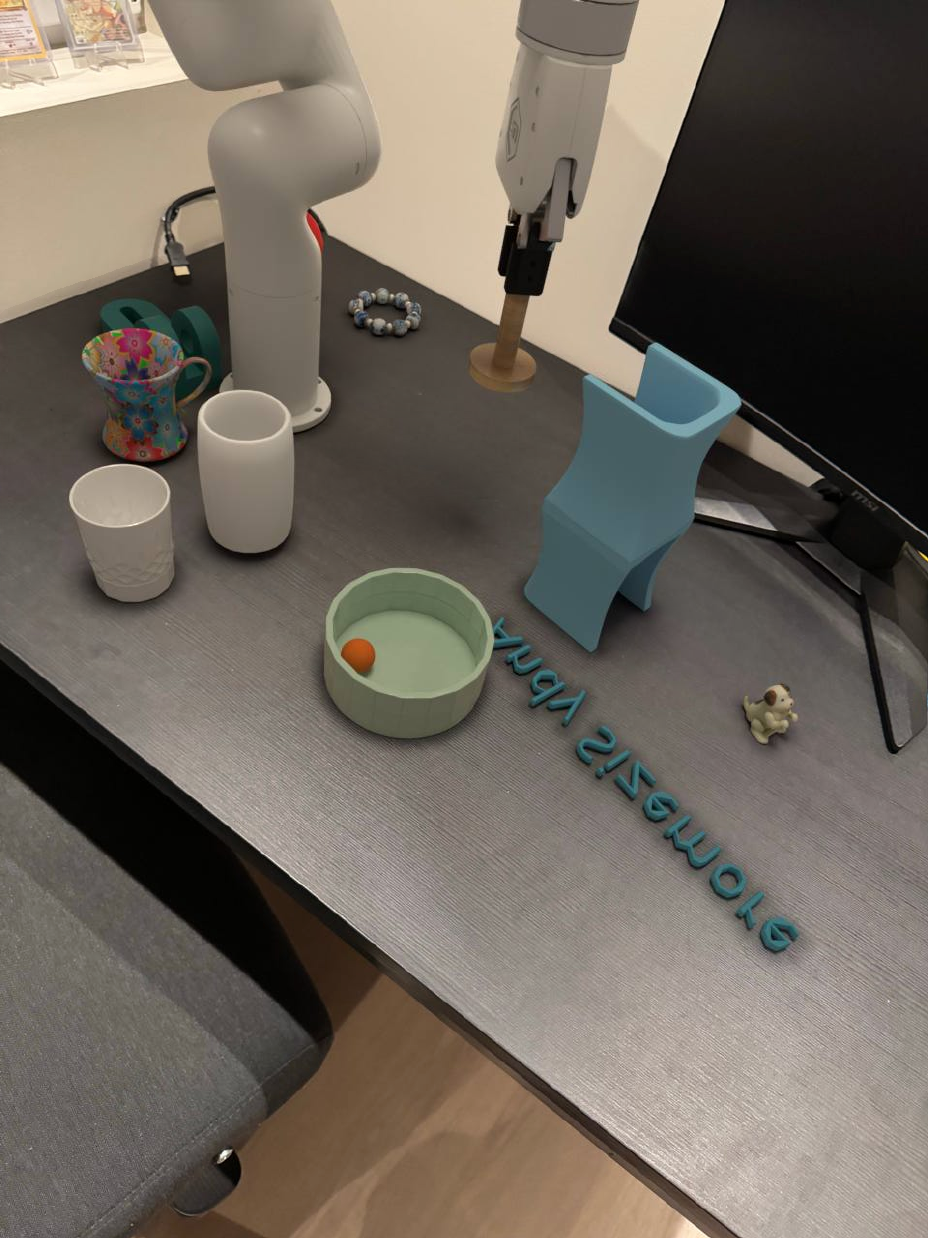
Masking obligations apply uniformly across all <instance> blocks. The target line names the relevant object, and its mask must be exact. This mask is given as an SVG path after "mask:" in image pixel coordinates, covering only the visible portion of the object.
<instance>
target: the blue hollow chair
mask: <svg viewBox="0 0 928 1238" xmlns="http://www.w3.org/2000/svg"><path fill="white" fill-rule="evenodd" d="M582 396H583V419H582V428H581V429H582V431H581V435H580V440H579V445H578V448H577V450H576V453H575V455H574V457H573V459H572V461H571V463H570V464H569V466H568V468H567V469H566V471H565V473H564V474H563V475H562V477H561V478H560V479H559V481H558V482H557V483H556V484H555V485H554V487H553V488H552V489H551V490H550V491H549V492H548V494H547V495H546V496H545V497H544V499H543V502H542V506H541V520H542V538H541V539H542V541H541V542H542V544H541V550H540V555H539V559H538V562H537V564H536V567H535V569H534V571H533V572H532V574H531V575H530V578H529V579H528V581H527V583H526V584H525V586H524V587H523V593H524V597H525V598H526V599H527V600H528V602H529V603H530V604H531V605H533V607H535V608H536V609H537V610H538V611H539V612H540V613H542V614H543V615H544V616H546V618H548V619H549V620H550V621H551V622H553V623H554V624H555V625H556V626H557V627H558V628H560V629H561V630H562V631H563V632H565V633H566V634H567V635H568V636H569V637H571V638H572V639H573V640H574V641H575V642H576V643H578V644H579V645H580V646H582V648H584V649H585V650H586V651H587V652H588V653H592V652H593V651H595V650H597V648H598V645H599V641H600V637H601V634H602V631H603V630H602V629H603V627H604V623H605V620H606V617H607V613H608V611H609V609H610V606H611V604H612V601H613V599H614V597H615V596H616V594H617V592H619V593H620V594H621V595H622V596H623V597H625V598H626V599H627V600H628V601H630V602H631V603H633V604H634V605H635V606H636V607H638V609H640V610H641V611H643V612H645V611H647V610H648V609H649V608H651V605H652V595H653V590H654V589H653V587H654V584H655V580H656V576H657V575H658V571H659V568H660V567H661V565H662V563H663V562H664V561H665V558H666V557H667V556H668V554H669V553H670V551H671V550H672V549H673V548H674V546H675V545H676V543H678V542H679V540H680V539H681V538H682V537H683V535H685V533H686V532H687V531H688V530H689V529H690V527H691V526H692V523H693V522H694V520H695V501H696V499H695V498H696V489H697V488H696V487H697V481H698V477H699V473H700V470H701V466H702V463H703V461H704V460H705V458H706V455H707V454H708V452H709V451H710V448H711V447H712V446H713V444H714V443H715V441H716V440H717V438H718V437H719V436H720V435H721V433H722V431H723V430H724V429H725V428H726V426H727V425H728V424H729V423H730V421H731V420H732V419H733V417H735V415H736V414H737V412H738V411H739V410H740V409H741V406H742V400H741V398H740V396H739V394H738V393H737V392H736V391H734V390H733V389H731V388H730V387H729V386H727V385H725V384H724V383H723V382H722V381H719V380H718V379H716V378H715V377H713V376H712V375H711V374H708V373H706V372H705V371H703V370H701V369H700V368H699V367H697V366H695V365H694V364H692V363H690V362H689V361H688V360H685V359H684V358H682V357H681V356H679V355H678V354H677V353H674V352H673V351H671V350H669V349H668V348H666V347H665V346H663V345H662V344H661V343H658V342H654V343H652V344H650V345H648V346H647V350H646V353H645V357H644V361H643V365H642V370H641V375H640V379H639V383H638V387H637V391H636V394H635V398H634V401H632V400H631V399H629V398H628V397H626V396H625V395H624V394H622V393H620V392H619V391H617V390H616V389H614V388H612V386H610V385H608V384H607V383H605V382H604V381H602V380H601V379H599V378H598V377H596V376H595V375H594V374H592V373H589V374H587V375H585V376H583V377H582Z"/></svg>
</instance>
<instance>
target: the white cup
mask: <svg viewBox="0 0 928 1238" xmlns="http://www.w3.org/2000/svg"><path fill="white" fill-rule="evenodd" d="M171 498H172V497H171V488H170V486H169V484H168V482H167V481H166V479H165V478H164V477H163V476H162V475H161V474H159V473H158V472H156V471H155V470H154V469H151V468H148V467H146V466H142V465H138V464H130V463H116V464H109V465H105V466H100V467H97V468H95V469H92V470H90V471H87V472H86V473H85V474H83V475H82V476H80V477H79V478H78V479H77V480H76V481H75V482H74V484H73V485H72V486H71V488H70V490H69V495H68V501H69V505H70V509H71V511H72V515H73V518H74V520H75V524H76V527H77V530H78V533H79V536H80V540H81V542H82V547H83V548H84V550H85V553H86V557H87V559H88V562H89V564H90V566H91V568H92V570H93V574H94V577H95V581H96V584H97V586H98V587H99V589H101V591H102V592H103V593H104V594H105V595H106V596H107V597H109V598H112V599H115V600H117V601H120V602H123V603H141V602H145V601H148V600H150V599H154V598H157V597H158V596H160V595H161V594H162V593H164V592H165V591H166V590H167V589H169V588H170V587H171V584H172V582H173V580H174V578H175V563H174V551H175V545H174V544H175V542H174V525H173V524H174V523H173V512H172V499H171Z"/></svg>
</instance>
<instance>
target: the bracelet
mask: <svg viewBox="0 0 928 1238" xmlns="http://www.w3.org/2000/svg"><path fill="white" fill-rule="evenodd" d="M409 298H410V297H409V296H408V295H407V293H404V292H399V293H397V294H395V295H394V294H393V293H391V294H390V292H389V291H388V290H387V289H386V288H383V287H380V288H378V289H376V290H375V292H373V293H372V292H371V293H370V292H369V291H366V290H360V291H359V292H358V293H357V295H356V299H352V300H350V302H349V303H348V305H347V307H348V312H349V313H350V314H351V315H353V321H354V323H355V325H356V326H358V327H360V328H361V327H366V326H368V327H370V329H371V331H372V332H373V334H375V335H378V336H379V335H383V334H385V332H387V331H388V332H391V331H392V332H393V334H395V335H396V336H403V335H405V334H406V333H407V331H408V329H412V330H415V329H417V328H419V327H420V325H421V322H422V320H421V313H422V308H421V305H420V304H419V303H418V302H410V299H409ZM372 301H375V302H376V303H378V304H380V305H383V304H384V305H385V304H387V303H388V302H391V303H393V304H394V305H395V307H397V308H398V309H406V311H405V312H406V314H407V316H406V318H405V320H403V319H399V318H398V319H395V320H394V321H393V322H392V323H390V322H389V323H387V322H386V321H385V320H384V319H383V318H375V319H372V318H370V315H369V314H368V312H367V311H365V310H364V307H368V306H370V305H371V303H372Z"/></svg>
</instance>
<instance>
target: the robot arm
mask: <svg viewBox="0 0 928 1238" xmlns="http://www.w3.org/2000/svg"><path fill="white" fill-rule="evenodd" d="M146 2H147V3H148V6H149V8H150V9H151V12H152V14H153V16H154V18H155V20H156V22H157V24H158V26H159V28H160V30H161V33H162V35H163V37H164V39H165V41H166V44H167V45H168V47H169V49H170V51H171V53H172V55H173V57H174V59H175V61H176V62H177V64H178V66H179V67H180V69H181V70H182V72H183V74H184V75H185V76H186V77H187V79H188V80H189V81H190V82H191V83H192V84H193V85H195V86H196V87H198V88H200V89H202V90H204V91H209V92H227V91H233V90H239V89H244V88H250V87H255V86H258V85H263V84H269V83H274V82H277V81H278V83H279V85H280V87H281V89H282V90H283V91H279V92H275V93H270V94H267V95H266V94H265V95H263V96H258V97H253V98H250V99H247V100H243V101H240V102H238V103H237V104H234V105H233V106H231V107H229V108H227V109H226V110H225V111H224V112H222V113H221V115H220V116H218V118H217V119H216V120H215V122H214V123H213V125H212V127H211V129H210V132H209V135H208V139H207V158H208V165H209V170H210V174H211V178H212V183H213V185H214V189H215V190H214V191H215V193H216V198H217V203H218V207H219V213H220V219H221V226H222V235H223V243H224V244H223V245H224V257H225V258H224V259H225V272H226V285H227V286H226V287H227V303H228V306H227V307H228V321H229V322H228V323H229V337H230V338H229V339H230V357H231V359H230V360H231V372H230V373H229V374H228V375H227V376H225V378H223V382H222V383H221V385H220V386H219V389H218V394H220V393H223V392H227V391H234V390H252V391H258V392H263V393H265V394H268V395H270V396H272V397H274V398H276V399H277V400H279V401H280V402H281V403H282V404H283V405H284V406H285V407H286V408H287V409H288V411H289V413H290V414H291V421H292V430H293V434H294V433H299V432H303V431H306V430H309V429H311V428H313V427H315V426H317V425H319V424H320V423H321V422H323V420H324V419H326V417H327V416H328V414H329V412H330V410H331V406H332V405H331V404H332V394H331V390H330V387H329V386H328V385H327V383H326V382H325V380H323V378H321V377H320V376H319V371H320V369H319V368H320V343H321V341H320V337H321V311H322V307H321V305H322V268H323V263H322V256H321V252H320V247H319V245H318V242H317V240H316V238H315V236H314V234H313V233H312V231H311V229H310V227H309V225H308V223H307V219H306V213H307V212H308V211H309V210H310V209H311V208H312V207H315V206H317V205H320V204H322V203H324V202H326V201H329V200H331V199H334V198H337V197H340V196H343V195H346V194H349V193H351V192H354V191H356V190H358V189H361V188H362V187H364V186H365V185H367V184H368V183H369V182H370V181H372V180H373V179H374V177H375V176H376V174H377V172H378V171H379V169H380V166H381V162H382V157H383V137H382V131H381V126H380V122H379V118H378V115H377V112H376V109H375V106H374V103H373V101H372V98H371V96H370V93H369V91H368V88H367V86H366V82H365V81H364V78H363V75H362V73H361V70H360V68H359V65H358V64H357V61H356V58H355V56H354V54H353V51H352V48H351V47H350V43H349V40H348V39H347V36H346V33H345V30H344V29H343V26H342V24H341V21H340V19H339V16H338V14H337V12H336V9H335V7H334V4H333V2H332V1H331V0H146ZM639 4H640V0H520V3H519V9H518V14H517V15H518V16H517V20H516V27H515V33H514V35H515V37H516V39H517V40H518V41H519V46H518V51H517V53H516V58H515V62H514V66H513V70H512V74H511V80H510V83H509V88H508V92H507V96H506V97H507V98H506V102H505V106H504V111H503V115H502V121H501V125H500V130H499V135H498V140H497V143H496V144H497V145H496V149H495V156H494V157H495V158H494V162H495V163H494V165H495V169H496V172H497V175H498V177H499V180H500V183H501V185H502V188H503V190H504V192H505V194H506V197H507V200H508V202H509V205H508V210H507V218H506V219H507V224H505V228H504V233H503V236H502V237H503V238H502V244H501V249H500V254H499V259H498V264H497V272H498V275H499V276H500V277H503V278H504V282H503V290H504V292H505V294H506V293H507V294H512V295H527V296H530V297H541V296H542V295H543V293H544V290H545V285H546V282H547V277H548V273H549V269H550V264H551V260H552V256H553V253H554V251H555V248H556V244H557V243H562V242H563V240H564V232H565V224H566V218H567V219H569V220H573V219H575V218H576V217H577V216H578V215H579V214H580V213H581V210H582V207H583V205H584V201H585V198H586V195H587V191H588V187H589V184H590V181H591V177H592V171H593V167H594V164H595V159H596V155H597V152H598V151H597V150H598V145H599V141H600V136H601V132H602V126H603V121H604V118H605V117H604V116H605V112H606V106H607V102H608V95H609V88H610V83H611V77H612V71H613V65H616V64H620V63H621V62H623V61H624V60H625V58H626V55H627V50H628V47H629V42H630V38H631V34H632V32H633V31H632V30H633V27H634V22H635V18H636V16H637V10H638V7H639ZM521 215H522V218H521ZM533 217H535V218H544V220H543V222H534V223H533V225H532V226H531V224H532V219H533ZM520 220H521V223H520ZM519 225H520V228H519ZM518 230H519V233H518ZM517 235H518V239H517ZM516 240H517V242H516Z"/></svg>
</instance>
